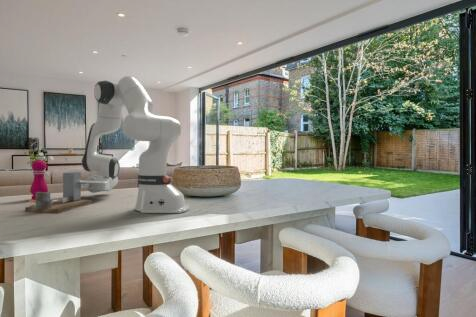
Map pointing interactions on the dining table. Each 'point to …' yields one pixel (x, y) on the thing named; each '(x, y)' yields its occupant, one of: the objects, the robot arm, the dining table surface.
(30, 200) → the wood and grey stick
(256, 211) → the dining table surface
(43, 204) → the gauge bench
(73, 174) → the brushed steel block
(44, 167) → the pepper mill
